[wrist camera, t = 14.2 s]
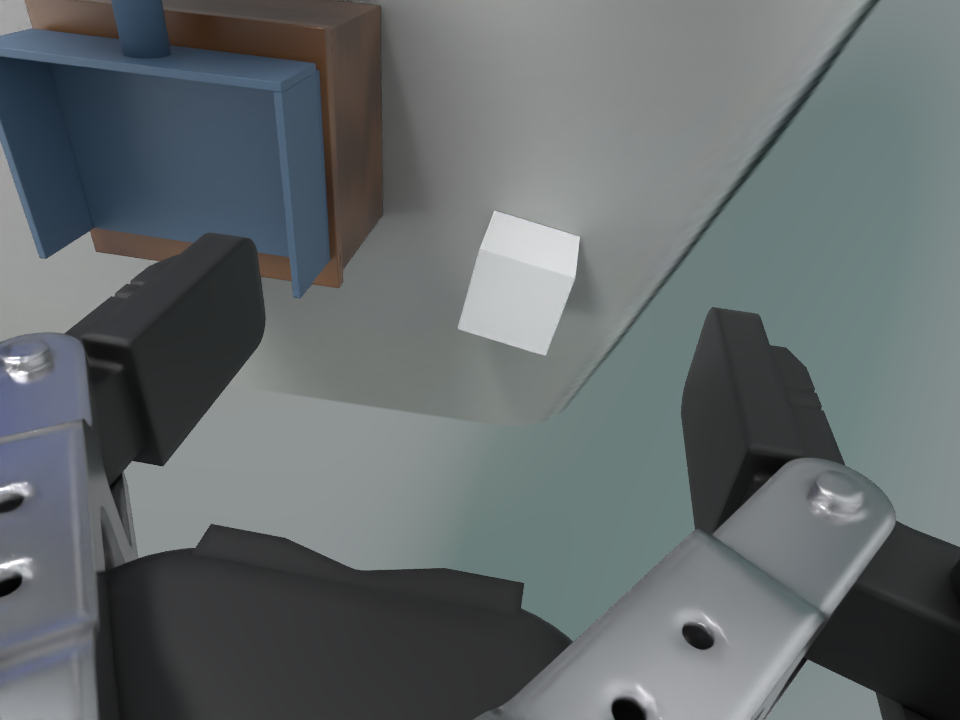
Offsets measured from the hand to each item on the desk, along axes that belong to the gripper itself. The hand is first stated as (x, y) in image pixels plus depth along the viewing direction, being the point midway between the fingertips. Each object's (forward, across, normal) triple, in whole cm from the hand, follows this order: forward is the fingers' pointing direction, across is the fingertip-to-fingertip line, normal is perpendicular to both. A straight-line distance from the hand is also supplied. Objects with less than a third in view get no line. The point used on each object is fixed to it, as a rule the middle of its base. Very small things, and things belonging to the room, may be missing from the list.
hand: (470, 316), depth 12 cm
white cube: (+32, +1, +15) cm, 36 cm away
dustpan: (+22, +18, +1) cm, 29 cm away
